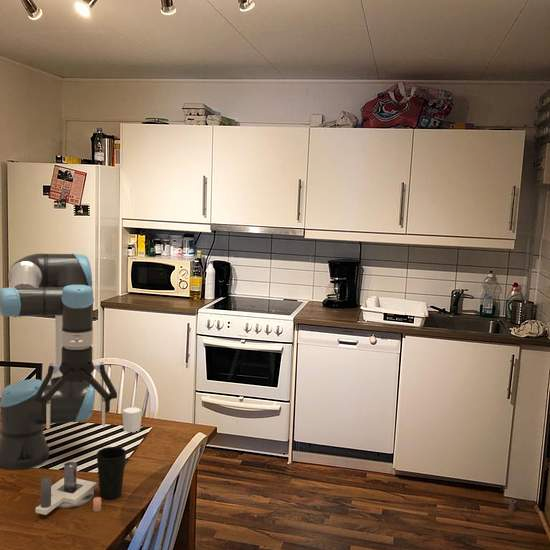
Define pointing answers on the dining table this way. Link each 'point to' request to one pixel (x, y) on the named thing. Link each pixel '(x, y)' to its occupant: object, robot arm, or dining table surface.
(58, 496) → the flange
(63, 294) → the robot arm
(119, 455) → the cup
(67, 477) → the base
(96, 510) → the dowel
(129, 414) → the white cylinder
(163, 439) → the dining table surface
